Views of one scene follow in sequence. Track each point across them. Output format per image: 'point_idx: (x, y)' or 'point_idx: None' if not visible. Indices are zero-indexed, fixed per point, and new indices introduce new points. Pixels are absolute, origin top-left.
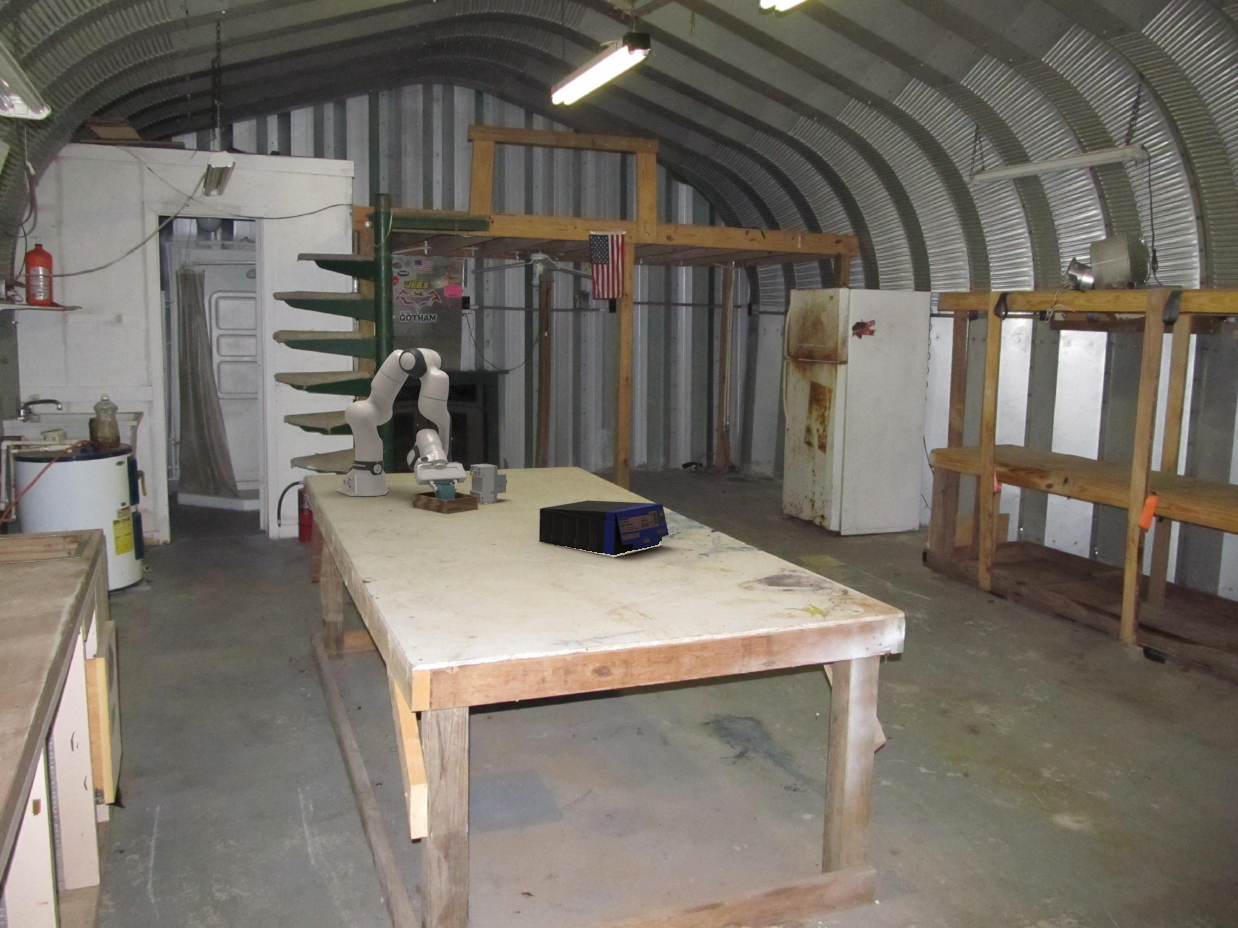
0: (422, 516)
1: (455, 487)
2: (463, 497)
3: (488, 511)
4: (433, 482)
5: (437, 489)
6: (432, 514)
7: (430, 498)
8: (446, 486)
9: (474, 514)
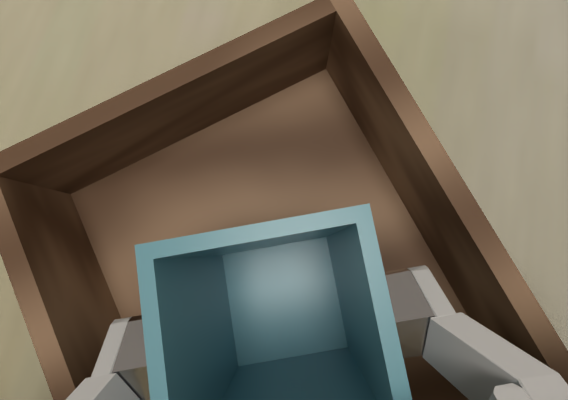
0: (496, 5)
1: (118, 339)
2: (85, 339)
3: (27, 87)
4: (502, 397)
5: (396, 276)
6: (421, 58)
7: (459, 182)
8: (278, 220)
9: (151, 5)
